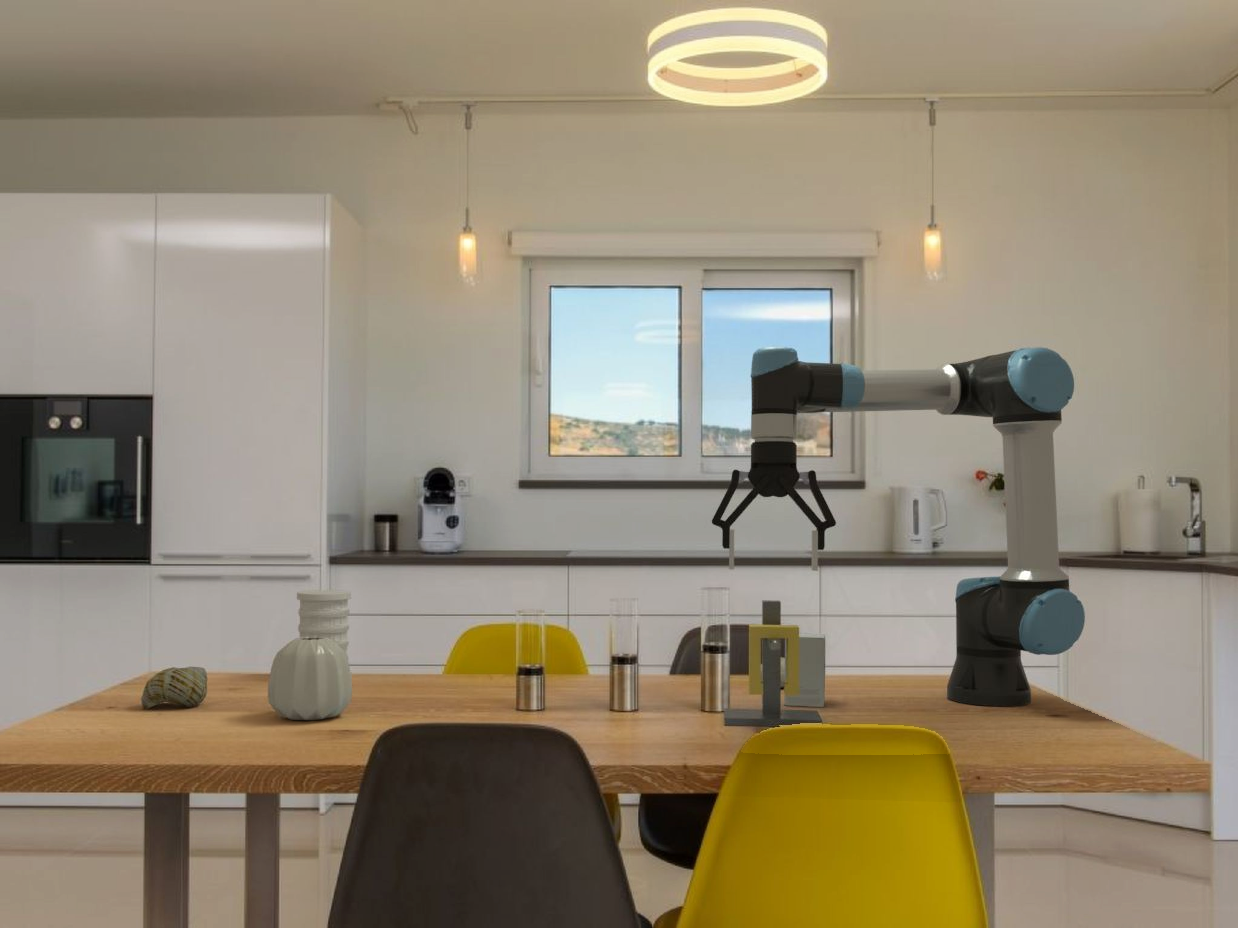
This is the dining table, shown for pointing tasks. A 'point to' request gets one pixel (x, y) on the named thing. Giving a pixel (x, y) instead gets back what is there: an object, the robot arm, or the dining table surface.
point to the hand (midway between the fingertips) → (772, 569)
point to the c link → (792, 656)
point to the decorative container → (325, 615)
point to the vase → (310, 680)
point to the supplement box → (809, 671)
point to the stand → (770, 684)
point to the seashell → (176, 687)
